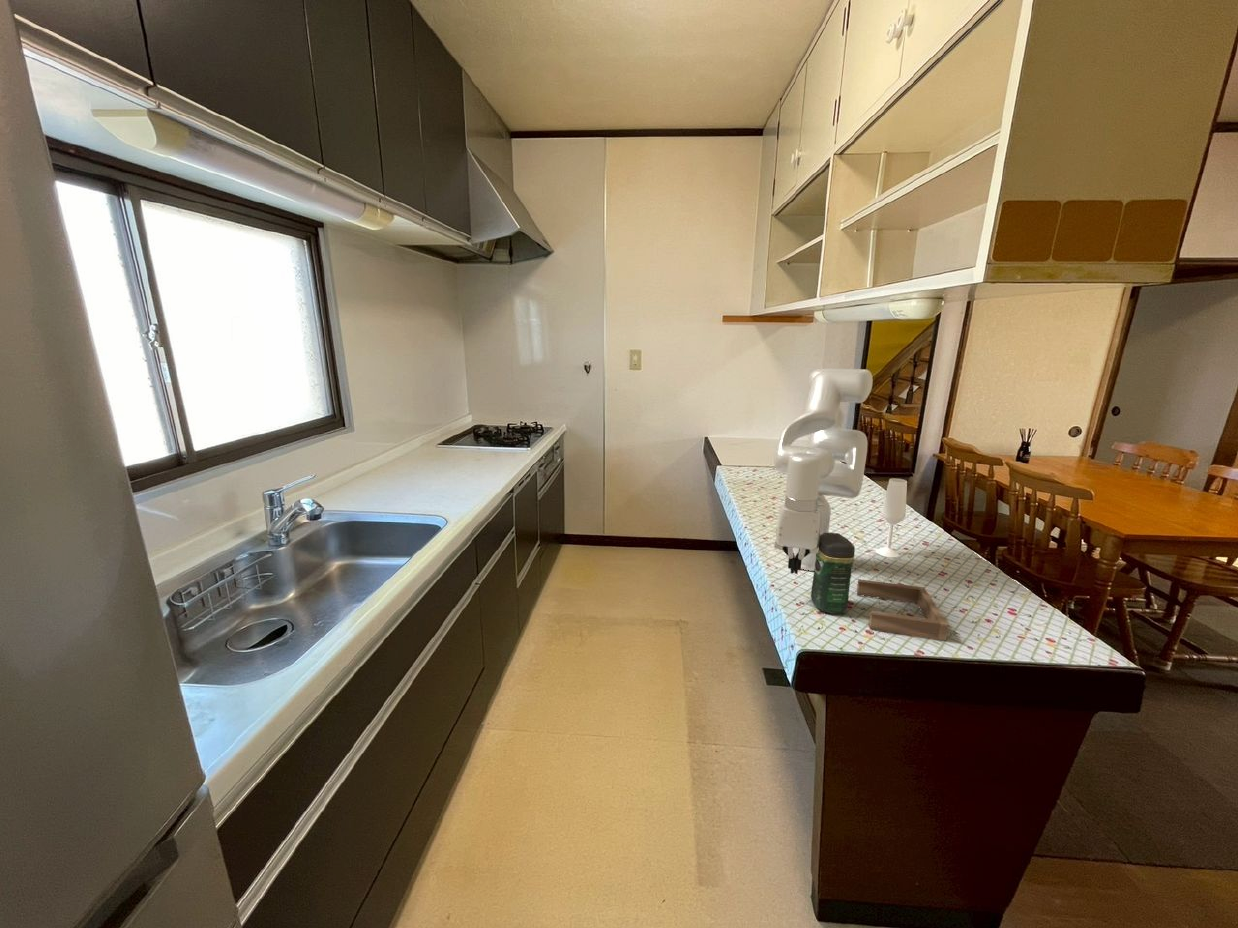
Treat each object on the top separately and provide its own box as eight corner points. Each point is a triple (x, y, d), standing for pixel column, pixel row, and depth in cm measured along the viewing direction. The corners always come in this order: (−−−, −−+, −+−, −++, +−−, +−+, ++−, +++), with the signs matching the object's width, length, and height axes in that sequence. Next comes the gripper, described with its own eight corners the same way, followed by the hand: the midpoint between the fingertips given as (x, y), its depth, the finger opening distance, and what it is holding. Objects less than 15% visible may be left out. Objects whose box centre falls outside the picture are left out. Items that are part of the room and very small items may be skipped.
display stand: (856, 592, 131) (858, 579, 130) (921, 601, 127) (924, 587, 126) (869, 629, 114) (872, 614, 113) (945, 640, 110) (948, 624, 109)
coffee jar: (851, 616, 120) (860, 545, 115) (818, 614, 120) (826, 544, 116) (837, 596, 129) (846, 530, 125) (806, 594, 130) (814, 529, 125)
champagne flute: (886, 558, 152) (898, 484, 146) (870, 549, 159) (880, 478, 153) (904, 556, 154) (916, 482, 148) (887, 547, 160) (898, 476, 154)
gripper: (831, 501, 122) (823, 569, 127) (769, 496, 127) (763, 561, 131) (835, 511, 115) (826, 582, 120) (769, 505, 120) (763, 573, 124)
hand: (793, 571), depth 125 cm, fingers closed
